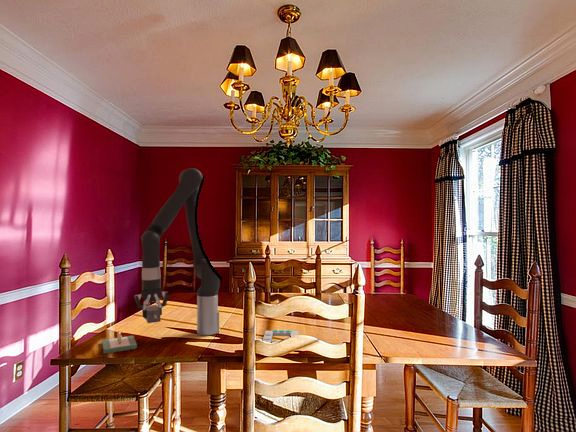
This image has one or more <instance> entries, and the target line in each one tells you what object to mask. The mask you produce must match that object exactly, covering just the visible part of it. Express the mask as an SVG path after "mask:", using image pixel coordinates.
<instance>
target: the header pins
mask: <svg viewBox="0 0 576 432" xmlns="http://www.w3.org/2000/svg"><path fill="white" fill-rule="evenodd" d="M116 334H117V336H116V338H117V341H118V344H121V337H122V334H121V331H117V333H116Z"/></svg>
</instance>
